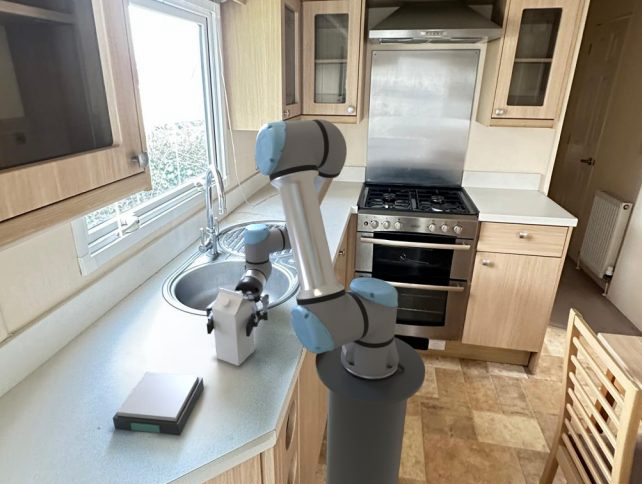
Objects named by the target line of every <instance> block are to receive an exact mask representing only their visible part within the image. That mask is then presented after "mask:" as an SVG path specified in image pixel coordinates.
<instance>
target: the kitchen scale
mask: <svg viewBox="0 0 642 484" xmlns="http://www.w3.org/2000/svg"><path fill="white" fill-rule="evenodd" d="M204 387H205V386H204V378H203V377H199V375H189V374H180V373H179V374H178V373H167V372H153V371H146V372H145V373H144V374H143V376H142V377H141V378H140V380H139V381H138V383H137V384H136V385H135V387H134V388H133V389H132V391H131V392H130V394H129V395H128V396H127V398H126V399H125V400H124V402H123V403H122V405H121V406H120V407H119V408H118V410H117V411H116V413H115V414H114V415H113V417H112V421H113V426H114V430H120V431H128V432H129V431H130V432H139V433H140V432H141V433H149V434H158V435H169V436H178V437H179V436H181V434H182V432H183V430H184V428H185V426H186V424H187V422H188V421H189V418H190V416H191V414H192V412H193V410H194V408H195V406H196V404H197V403H198V400H199V398H200V396H201V395H202V393H203V390H204Z"/></svg>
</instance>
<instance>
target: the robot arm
mask: <svg viewBox="0 0 642 484" xmlns="http://www.w3.org/2000/svg"><path fill="white" fill-rule="evenodd" d="M254 146H255V147H254V156H255V163H256V167H257V169H258V171H259V172H260V174H262V175H264V176H268V178H269V184H270V185H271V186H273V187H274V188H276V189H277V190H278V194H279V198H280V203H281V207H282V212H283V216H284V221H285V223H284V225H283V226H280V227H275V228H269V227H268V226H267V225H266V224H263V223H251V224H248V225H247V226H246V227H244V230H243V244H244V258H245V259H244V260H245V261H244V263H245V271H244V273H243V274H242V276H241V278H240V279H239V281H238V283H237V284H236V286H235V288H234V290H233V291H234V292H238V293H241V294H243V298H244V299H246V300H248V301H250V302H252V314H251V317H250V319H249V321H248V323H247V325H246V337H249V336H250V334H251V332H252V329H253V330H254V328H257V327H258V326H259V323H260V322H261V321H262V320H263V321H264V322H267V321H268V319H269V315H268V314H269V313H268V312H269V311H268V305H269V304H270V294H268V293H266V294H264V295H263V296H262V294H263V293H264V292H263V291H264V289H265V287H266V285H267V283H268V281H269V279H270V278H271V275H272V271H273V264H272V261H270V254H273V253H274V254H275V253H279V252H284V251H287V250H291V252H292V256H293V261H294V265H295V270H296V275H297V280H298V284H299V291H298V293H297V294H296V296H295V300H296V305H295V306H294V307H293V308H292V309H291V311H290V323H291V326H292V329H293V332H294V334H295V336H296V338H297V339H298V341H299V343H300V344H301V346H303V348H305V349H306V350H307V351H308V352H309V353H312V354H315V355H316V354H319V353H323V352H326V351H332V350H334V349H335V348H337V347H340V346H342V351H341V358H340V361H341V365H342V367H343V369H344V370H345V371H346V372H347V373H349V374H350V375H352V376H353V377H356V378H358V379H361V380H366V381H382V380H386V379H388V378H390V377H392V376H394V375H395V374H396V372H397V371H398V368H400V369H401V370H403V371H404V370H405V368H404V367H403V366H402V365H401V364H400V363H399V355H398V352H397V348H396V345H395V341H394V337H395V335H396V333H395V332H396V324H397V315H398V307H399V302H398V291H397V289H396V288H395V286H394V285H392V284H391V283H389V282H387V281H385V280H383V279H379V278H375V277H365V276H364V277H357V278H354V279H352V280H351V282H350V285H349V290H347V291H346V290H345V289H346V288H345V286H344V285H342V284H341V283H339V282H338V280H337V278H336V274H335V269H334V265H333V260H332V256H331V251H330V247H329V242H328V238H327V233H326V229H325V224H324V220H323V214H322V211H321V205H322V204H323V203H322V202H323V201H324V199H325V196H326V195H327V193H328V190H329V188H330V187H331V184H332V182H333V180H334V179H336V178H338V177H339V176H340V174H341V172H342V171H343V169H344V166H345V164H346V159H347V155H348V153H347V148H348V147H347V142H346V139H345V136H344V135H343V133H342V131H341V129H339V127H337V125H335V124H334V123H333V122H331V121H328V120H326V119H319V118H317V119H316V118H315V119H301V120H300V119H299V120H279V121H271V122H267V123H265V124H264V125H262V127H261V128H260V129H259V131H258V133H257V136H256V141H255V145H254ZM215 300H216V299H214V300H213V301H212V302H211V303H210V304H209V305H207V306H206V307H205V312H206V317H207V322H206V332H207V335H211V334H212V333H213V332H214V325H213V315H212V307H213V304H214V302H215ZM259 302H260V303H261V305H262V312H261V309H259V307H258V305H257V303H259Z"/></svg>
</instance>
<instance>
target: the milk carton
mask: <svg viewBox="0 0 642 484" xmlns="http://www.w3.org/2000/svg"><path fill="white" fill-rule="evenodd" d="M218 289H219V292H218V294H217V296H216V298H215V299H214V300H215V302H214V304H213V307H212V315H213V325H214V329H213V334H214V344H215V355H216V359H217V360H221V361H223V362H226V363H229V364H231V365H234V366H237V367H239V366H240V365H242V364H243V362H244V361H245V360H247V358H249V357H250V356H251V355H252V354H253V353H254V352H255V336H254V328H253V329H252V332H251V334H250V336H249V337H246V325H247V323H248V321H249V319H250V317H251V314H252V302H250V301H248V300H246V299H244V298H243V294H241V293H238V292H234V291H235V290H230V289H227V288H222V287H219V288H218Z"/></svg>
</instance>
